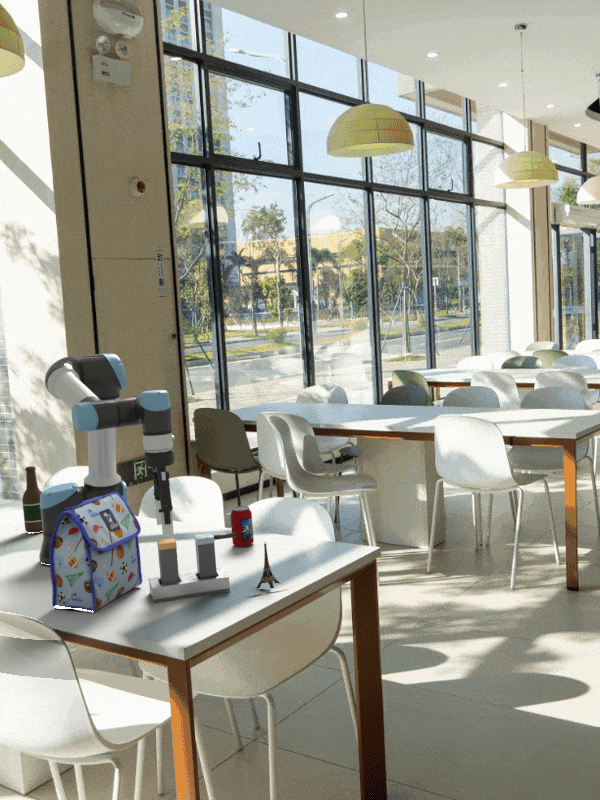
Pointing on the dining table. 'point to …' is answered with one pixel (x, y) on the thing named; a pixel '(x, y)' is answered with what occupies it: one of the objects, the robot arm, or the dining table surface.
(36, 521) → the beer bottle
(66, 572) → the lunch bag
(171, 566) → the plug
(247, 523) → the beverage can
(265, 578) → the eiffel tower figurine
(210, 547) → the pdu strip
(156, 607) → the dining table surface
